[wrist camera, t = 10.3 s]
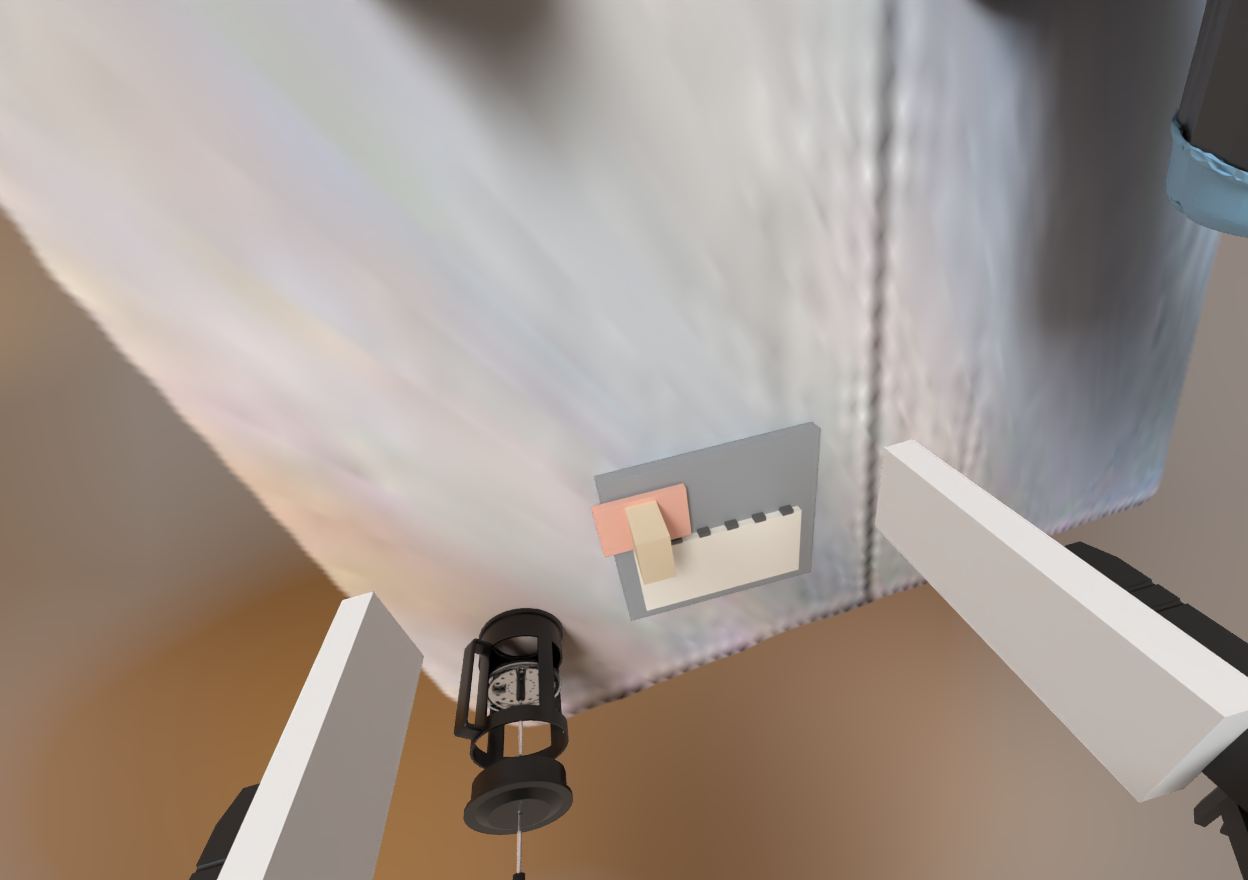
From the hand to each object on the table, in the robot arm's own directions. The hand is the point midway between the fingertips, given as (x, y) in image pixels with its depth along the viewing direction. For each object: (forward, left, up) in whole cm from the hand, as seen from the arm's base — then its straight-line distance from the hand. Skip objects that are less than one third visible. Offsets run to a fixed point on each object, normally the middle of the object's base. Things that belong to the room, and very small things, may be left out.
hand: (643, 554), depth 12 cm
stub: (-2, +21, -25) cm, 33 cm away
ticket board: (-10, +26, -27) cm, 39 cm away
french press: (+14, +35, -27) cm, 47 cm away
